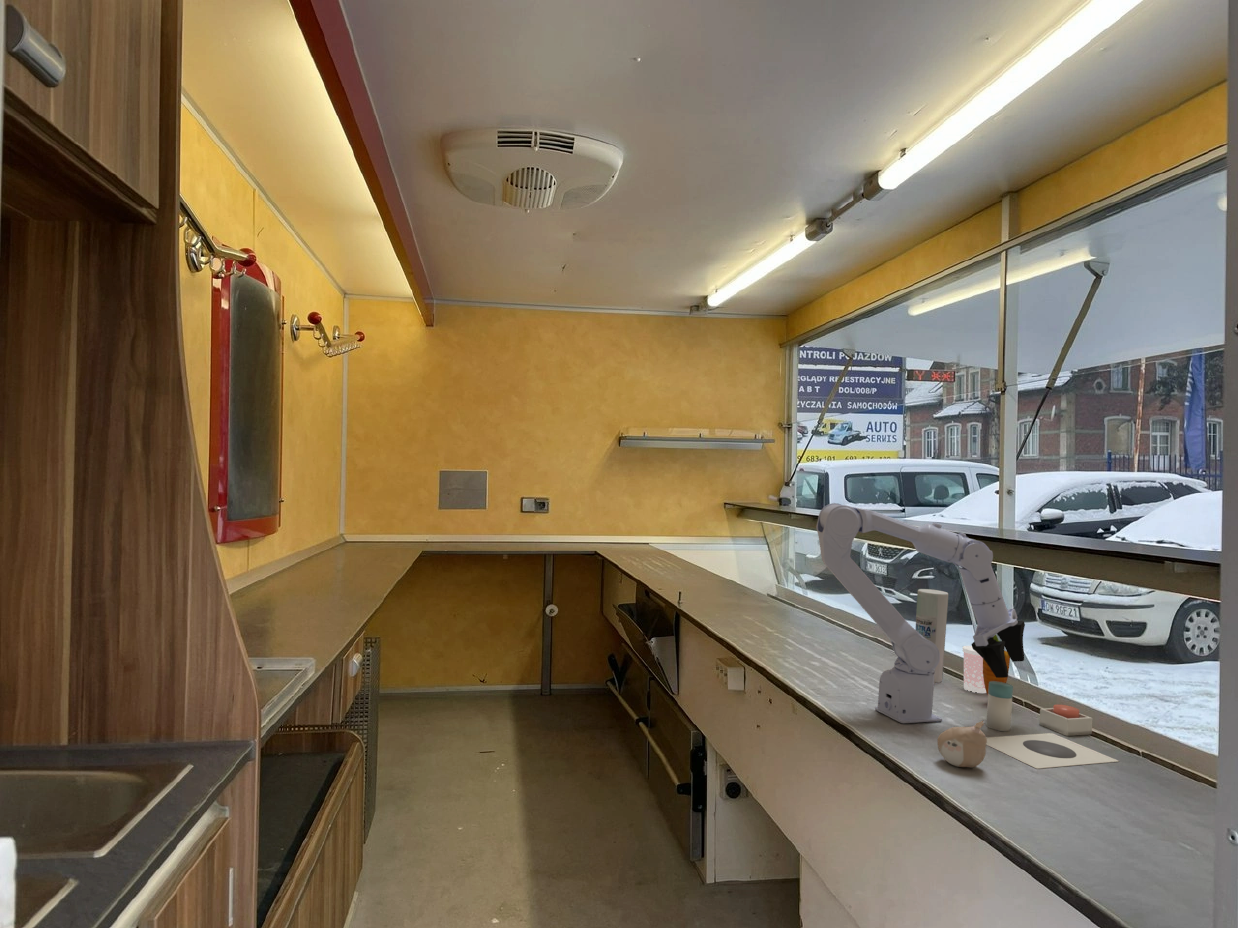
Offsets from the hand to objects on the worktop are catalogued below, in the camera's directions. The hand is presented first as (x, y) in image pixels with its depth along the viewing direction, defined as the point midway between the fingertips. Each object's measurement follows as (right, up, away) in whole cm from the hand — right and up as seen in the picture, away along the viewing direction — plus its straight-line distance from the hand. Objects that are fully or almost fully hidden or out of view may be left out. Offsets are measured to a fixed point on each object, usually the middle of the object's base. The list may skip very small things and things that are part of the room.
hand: (1010, 668), depth 141 cm
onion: (-20, -10, -22) cm, 31 cm away
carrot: (+3, -11, +13) cm, 17 cm away
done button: (+10, -9, 0) cm, 14 cm away
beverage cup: (+4, -11, +23) cm, 26 cm away
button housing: (+10, -11, 0) cm, 15 cm away
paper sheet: (-1, -11, -13) cm, 16 cm away
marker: (-3, -10, -2) cm, 11 cm away
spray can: (-3, -11, +30) cm, 32 cm away
